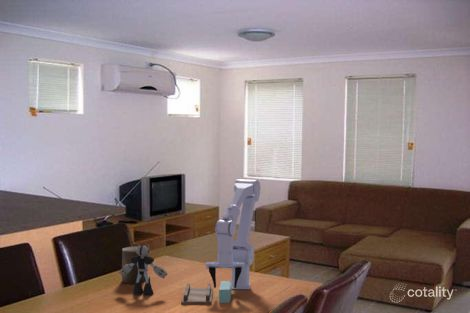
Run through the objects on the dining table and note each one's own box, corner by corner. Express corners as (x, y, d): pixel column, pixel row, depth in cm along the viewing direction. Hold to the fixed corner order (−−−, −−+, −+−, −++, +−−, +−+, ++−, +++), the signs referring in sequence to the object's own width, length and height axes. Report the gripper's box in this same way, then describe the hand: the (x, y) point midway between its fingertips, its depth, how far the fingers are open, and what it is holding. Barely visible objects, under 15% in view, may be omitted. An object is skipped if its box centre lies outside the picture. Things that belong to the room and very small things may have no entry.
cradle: (185, 290, 199) (185, 283, 199) (212, 290, 199) (213, 283, 199) (181, 304, 183) (181, 296, 183) (211, 304, 183) (211, 296, 183)
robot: (117, 293, 195) (116, 242, 194) (122, 289, 199) (122, 240, 199) (164, 297, 191) (164, 245, 190) (169, 293, 195) (169, 242, 194)
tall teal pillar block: (221, 292, 197) (221, 280, 197) (231, 292, 197) (231, 280, 197) (218, 303, 185) (219, 289, 185) (229, 303, 185) (229, 289, 185)
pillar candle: (142, 284, 207) (142, 248, 206) (119, 284, 207) (119, 247, 207) (147, 277, 217) (147, 243, 216) (124, 277, 217) (125, 243, 216)
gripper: (205, 253, 186) (205, 290, 186) (244, 254, 186) (244, 290, 186) (206, 249, 193) (206, 284, 193) (244, 249, 193) (244, 284, 193)
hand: (225, 287), depth 190 cm, fingers open, 7 cm apart
